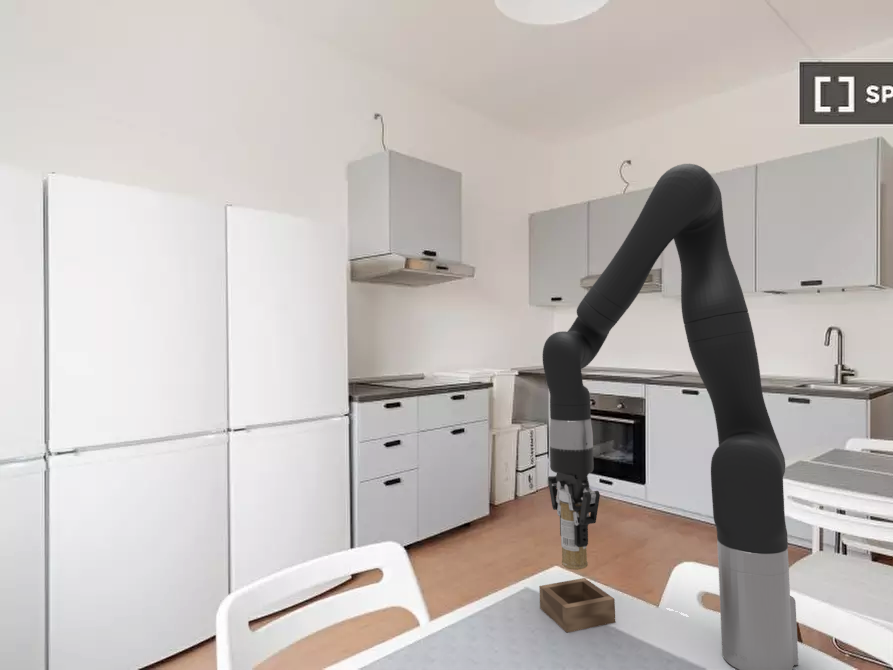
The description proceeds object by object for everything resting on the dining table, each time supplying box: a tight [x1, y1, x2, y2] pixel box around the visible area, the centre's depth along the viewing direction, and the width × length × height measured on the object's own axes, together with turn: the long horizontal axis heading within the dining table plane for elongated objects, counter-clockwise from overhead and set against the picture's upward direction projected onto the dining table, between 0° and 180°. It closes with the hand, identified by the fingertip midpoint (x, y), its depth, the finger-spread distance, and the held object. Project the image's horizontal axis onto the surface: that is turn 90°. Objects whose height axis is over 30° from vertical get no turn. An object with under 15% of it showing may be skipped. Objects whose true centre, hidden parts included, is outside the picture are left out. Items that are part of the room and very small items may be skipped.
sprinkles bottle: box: [559, 489, 589, 571], centre depth 98 cm, size 5×5×13 cm
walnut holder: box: [539, 577, 616, 633], centre depth 98 cm, size 9×9×4 cm
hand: (573, 540), depth 98 cm, fingers closed on sprinkles bottle, 4 cm apart
